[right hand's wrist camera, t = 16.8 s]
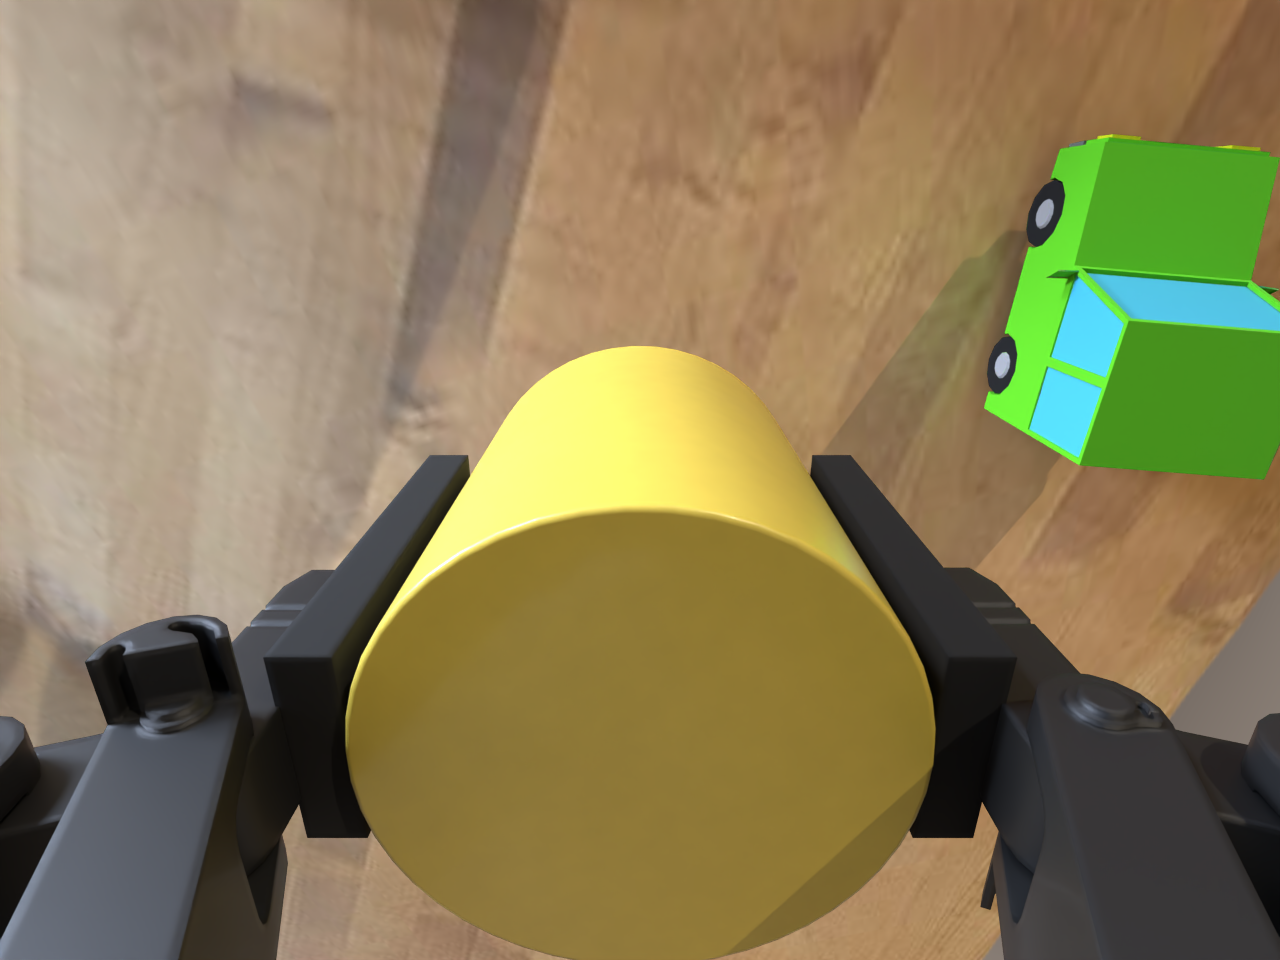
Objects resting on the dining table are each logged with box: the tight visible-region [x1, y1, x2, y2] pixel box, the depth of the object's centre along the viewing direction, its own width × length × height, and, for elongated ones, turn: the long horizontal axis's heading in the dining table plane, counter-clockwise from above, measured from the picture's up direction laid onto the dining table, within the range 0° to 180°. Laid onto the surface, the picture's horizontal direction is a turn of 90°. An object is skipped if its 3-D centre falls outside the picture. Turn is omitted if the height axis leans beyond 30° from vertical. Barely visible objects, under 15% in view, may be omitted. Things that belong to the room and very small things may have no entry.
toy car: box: [984, 134, 1280, 479], centre depth 32 cm, size 10×13×10 cm
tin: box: [345, 346, 936, 960], centre depth 12 cm, size 7×7×8 cm
